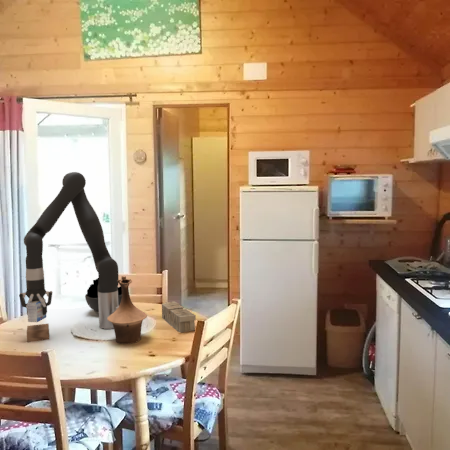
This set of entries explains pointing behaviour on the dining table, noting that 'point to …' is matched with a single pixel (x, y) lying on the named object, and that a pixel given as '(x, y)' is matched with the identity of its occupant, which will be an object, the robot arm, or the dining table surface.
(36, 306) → the medicine box
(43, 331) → the walnut block
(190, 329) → the block tower
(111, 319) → the brown clay vase
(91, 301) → the bowl of black rocks
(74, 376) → the dining table surface
